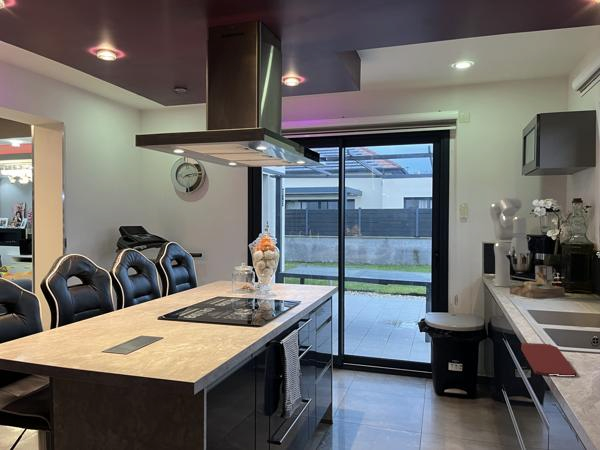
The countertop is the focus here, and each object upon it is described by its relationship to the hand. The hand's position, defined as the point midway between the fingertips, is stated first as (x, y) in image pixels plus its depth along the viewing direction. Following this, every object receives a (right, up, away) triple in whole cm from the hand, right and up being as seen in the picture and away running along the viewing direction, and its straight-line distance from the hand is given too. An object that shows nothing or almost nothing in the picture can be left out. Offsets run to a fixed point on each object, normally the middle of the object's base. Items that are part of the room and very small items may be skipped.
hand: (519, 263), depth 291 cm
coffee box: (+26, -19, +19) cm, 37 cm away
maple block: (+9, -16, +3) cm, 19 cm away
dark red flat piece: (-55, -24, -132) cm, 145 cm away
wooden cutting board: (+11, -20, 0) cm, 23 cm away
